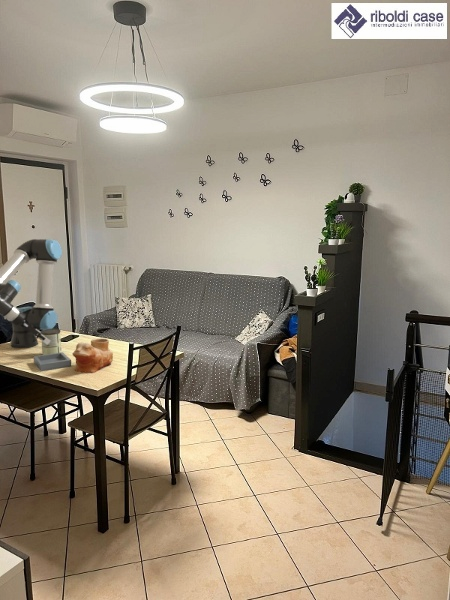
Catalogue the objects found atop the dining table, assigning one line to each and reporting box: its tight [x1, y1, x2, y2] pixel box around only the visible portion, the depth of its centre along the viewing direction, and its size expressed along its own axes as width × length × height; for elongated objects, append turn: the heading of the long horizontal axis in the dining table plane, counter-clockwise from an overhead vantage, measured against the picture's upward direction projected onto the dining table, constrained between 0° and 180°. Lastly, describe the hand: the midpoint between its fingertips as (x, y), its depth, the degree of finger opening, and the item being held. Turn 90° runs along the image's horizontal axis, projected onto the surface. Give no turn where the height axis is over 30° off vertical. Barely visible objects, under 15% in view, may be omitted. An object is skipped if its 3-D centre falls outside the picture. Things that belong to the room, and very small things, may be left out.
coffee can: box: [40, 328, 62, 355], centre depth 250 cm, size 10×10×14 cm
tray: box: [33, 351, 72, 372], centre depth 234 cm, size 17×15×4 cm
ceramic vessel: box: [72, 338, 114, 374], centre depth 229 cm, size 14×26×15 cm, turn 160°
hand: (46, 340), depth 247 cm, fingers open, 13 cm apart
